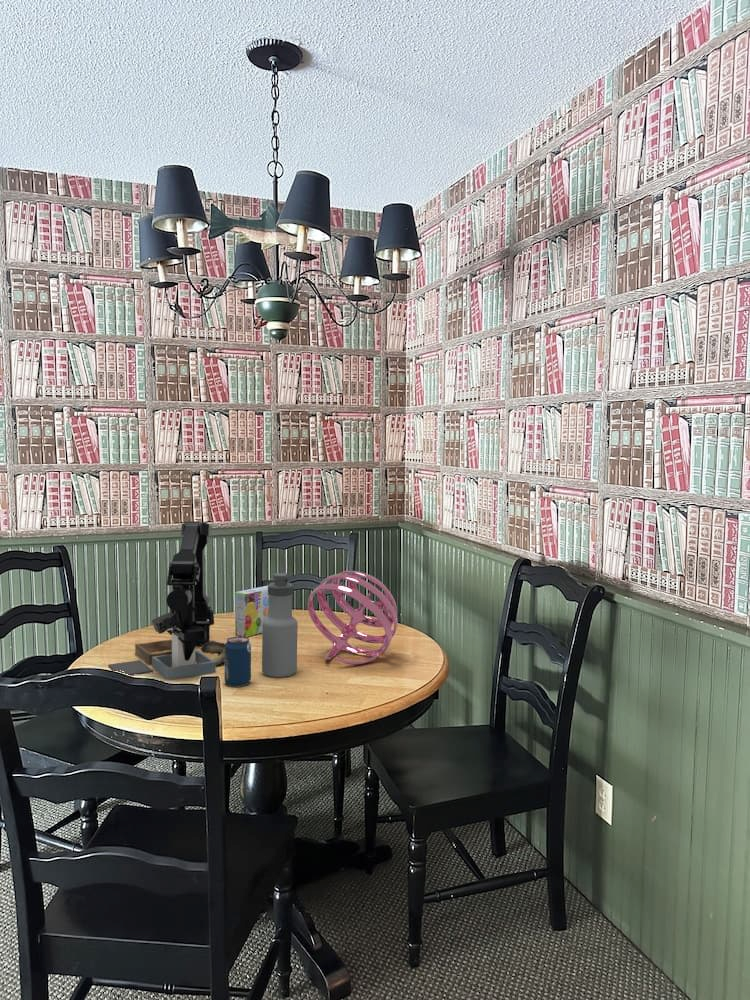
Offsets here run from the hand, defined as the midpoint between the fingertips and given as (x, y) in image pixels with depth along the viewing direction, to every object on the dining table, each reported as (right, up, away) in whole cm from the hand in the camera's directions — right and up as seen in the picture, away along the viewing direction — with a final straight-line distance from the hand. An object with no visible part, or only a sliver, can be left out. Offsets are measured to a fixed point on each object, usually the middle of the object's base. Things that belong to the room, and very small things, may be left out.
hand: (183, 658), depth 206 cm
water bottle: (+27, -4, 0) cm, 27 cm away
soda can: (+17, -5, -11) cm, 21 cm away
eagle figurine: (+8, -3, +8) cm, 12 cm away
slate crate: (0, -3, 0) cm, 3 cm away
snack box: (+15, -1, +47) cm, 49 cm away
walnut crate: (-9, -2, +13) cm, 16 cm away
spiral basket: (+48, -4, +15) cm, 50 cm away
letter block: (0, -3, 0) cm, 3 cm away
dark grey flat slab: (-15, -3, 0) cm, 15 cm away
